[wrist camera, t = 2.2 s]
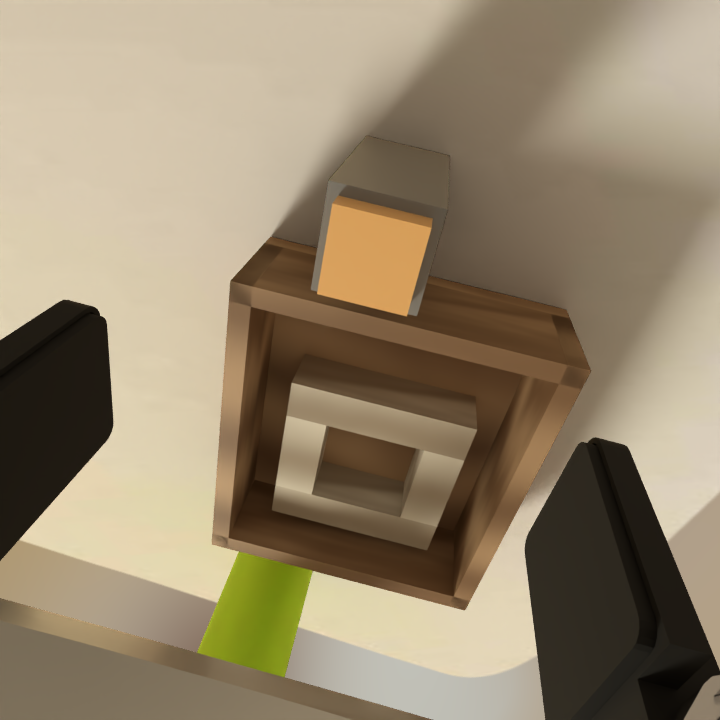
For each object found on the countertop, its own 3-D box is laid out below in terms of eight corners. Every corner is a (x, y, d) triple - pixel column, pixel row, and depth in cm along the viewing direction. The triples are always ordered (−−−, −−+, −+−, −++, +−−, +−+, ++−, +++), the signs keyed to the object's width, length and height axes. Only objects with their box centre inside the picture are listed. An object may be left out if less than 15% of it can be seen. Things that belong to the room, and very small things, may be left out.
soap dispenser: (217, 544, 42) (61, 882, 26) (285, 520, 40) (160, 879, 23) (262, 589, 45) (144, 927, 28) (329, 568, 42) (244, 929, 25)
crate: (270, 236, 28) (230, 281, 23) (566, 309, 28) (591, 370, 23) (244, 476, 38) (211, 544, 33) (463, 532, 38) (464, 610, 32)
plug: (366, 135, 25) (321, 187, 17) (450, 155, 25) (447, 218, 16) (350, 218, 27) (304, 301, 19) (427, 236, 27) (415, 328, 19)
